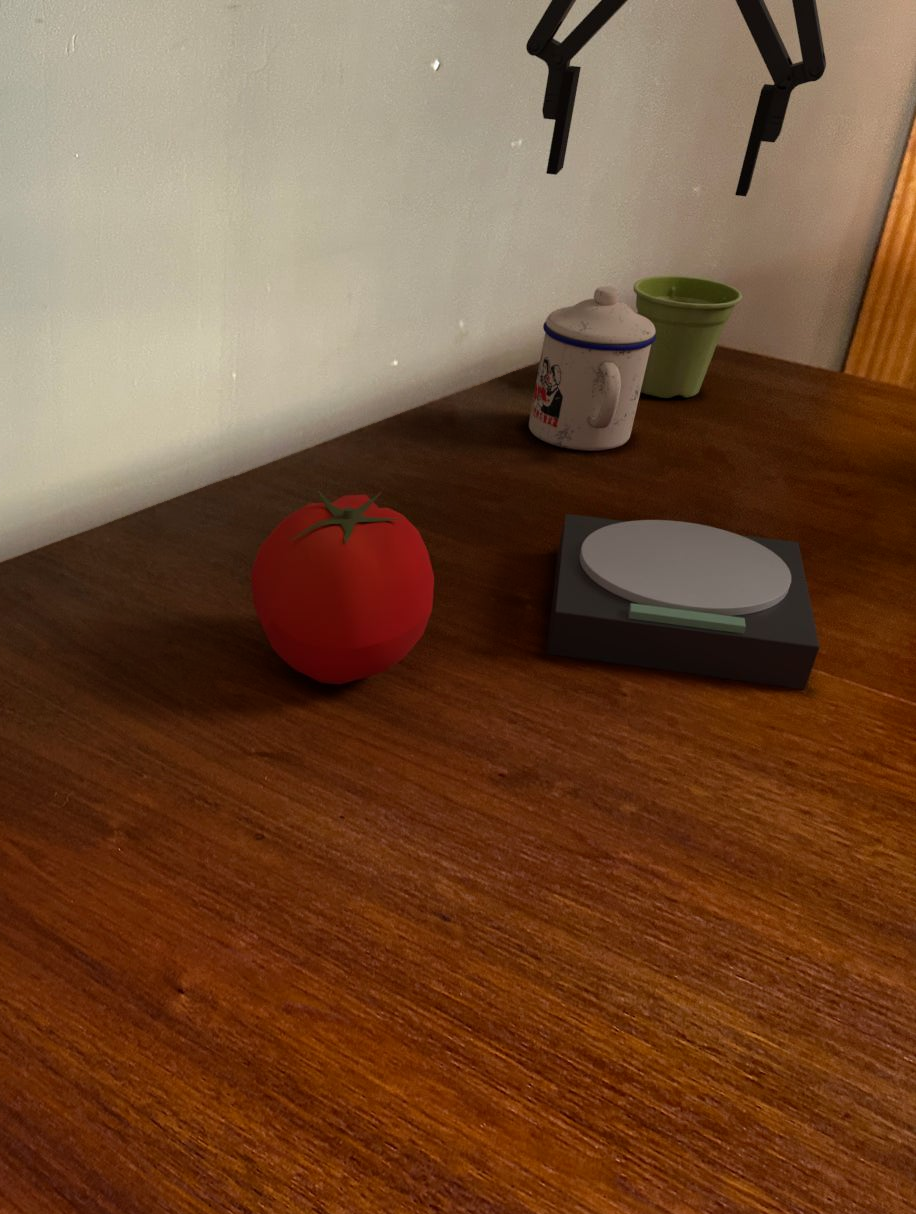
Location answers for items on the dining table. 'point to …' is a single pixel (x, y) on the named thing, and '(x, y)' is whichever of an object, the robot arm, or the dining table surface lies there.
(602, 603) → the scale
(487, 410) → the dining table surface
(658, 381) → the plant pot
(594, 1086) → the dining table surface
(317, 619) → the tomato
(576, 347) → the teacup with lid
